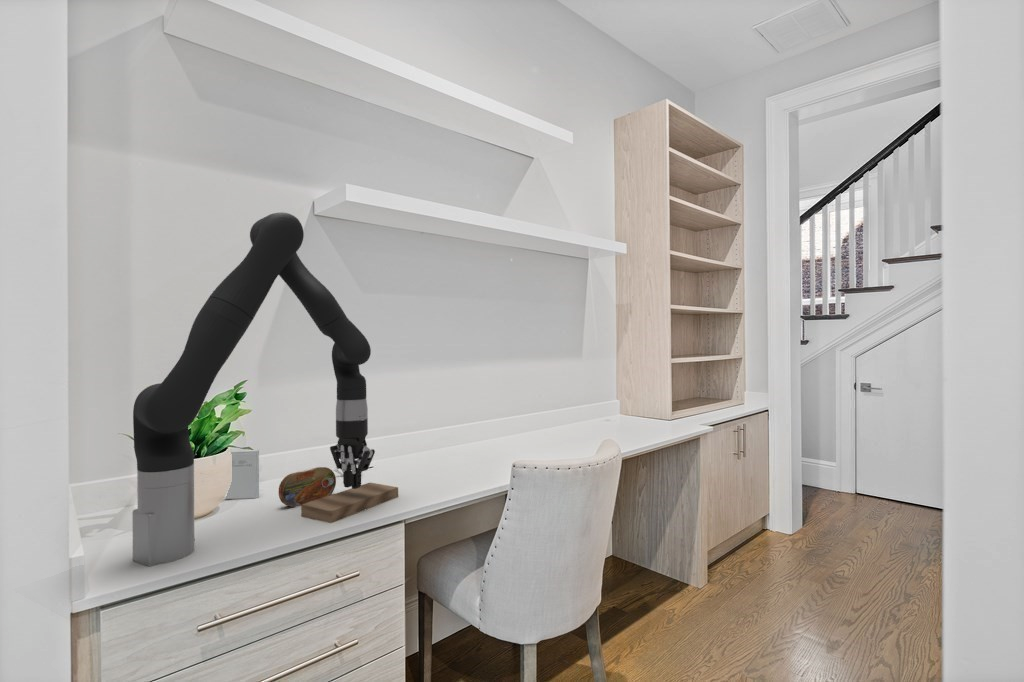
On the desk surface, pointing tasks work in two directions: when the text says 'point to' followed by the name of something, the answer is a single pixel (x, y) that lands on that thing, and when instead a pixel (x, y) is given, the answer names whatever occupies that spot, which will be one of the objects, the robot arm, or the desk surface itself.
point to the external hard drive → (244, 475)
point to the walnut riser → (348, 502)
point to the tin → (307, 486)
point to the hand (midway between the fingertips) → (352, 487)
